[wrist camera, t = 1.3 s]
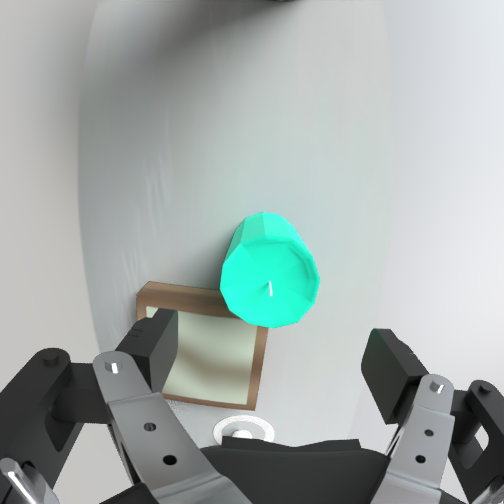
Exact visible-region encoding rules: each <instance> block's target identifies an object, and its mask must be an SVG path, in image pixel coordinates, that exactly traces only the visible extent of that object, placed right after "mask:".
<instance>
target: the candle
mask: <svg viewBox="0 0 504 504" xmlns="http://www.w3.org/2000/svg"><path fill="white" fill-rule="evenodd" d="M319 283H320V278H319V275H318V272H317V269H316V265H315V262H314V259H313V256H312V255H311V253H310V252H309V250H308V249H307V247H306V246H305V244H304V242H303V241H302V239H301V238H300V236H299V235H298V233H297V232H296V230H295V229H294V227H293V226H292V225H291V224H290V223H289V222H287V221H286V220H285V219H284V218H283V217H281V216H280V215H278V214H272V213H266V212H261V213H258V214H255V215H253V216H250V217H247V218H246V219H245V220H244V221H243V222H242V224H241V225H240V226H239V227H238V228H237V230H236V231H235V233H234V236H233V239H232V241H231V244H230V247H229V250H228V252H227V255H226V258H225V261H224V263H223V268H222V276H221V283H220V290H221V293H222V295H223V297H224V299H225V301H226V304H227V306H228V308H229V310H230V311H231V312H233V313H234V314H236V315H237V316H239V317H240V318H241V319H243V320H244V321H246V322H247V323H249V324H253V325H258V326H263V327H269V328H277V327H281V326H285V325H289V324H293V323H297V322H298V321H299V320H300V319H301V318H302V317H303V316H304V315H305V313H306V312H307V311H308V310H309V309H310V308H311V307H312V305H313V304H314V302H315V299H316V295H317V291H318V287H319Z"/></svg>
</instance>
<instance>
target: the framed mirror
mask: <svg viewBox="0 0 504 504" xmlns="http://www.w3.org/2000/svg"><path fill="white" fill-rule="evenodd" d="M159 307H161V308H168V309H174V310H177V311H178V350H177V356H176V359H175V361H174V363H173V366H172V368H171V371H170V373H169V375H168V378H167V380H166V383H165V385H164V388H163V390H162V392H161V395H162V396H163V398H165V399H170V400H176V401H181V402H187V403H193V404H200V405H207V406H214V407H222V408H231V409H241V410H251V411H255V407H256V401H257V396H258V390H259V384H260V378H261V371H262V365H263V359H264V353H265V346H266V340H267V333H268V327H263V326H258V325H253V324H249V323H247V322H246V321H244V320H243V319H241V318H240V317H239V316H237V315H236V314H234V313H233V312H231V311H230V310H229V308H228V306H227V304H226V301H225V299H224V297H223V295H222V293H221V291H220V290H211V289H203V288H195V287H188V286H180V285H172V284H165V283H158V282H151V281H149V282H148V283H147V284H146V285H145V286H144V287H143V288H142V289H141V290H140V291H139V292H138V293H137V318H138V321H139V320H141V319H143V318H144V317H149V318H152V317H153V315H154V314H155V312H156V311H157V310H158V308H159Z"/></svg>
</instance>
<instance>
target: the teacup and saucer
mask: <svg viewBox="0 0 504 504" xmlns="http://www.w3.org/2000/svg"><path fill="white" fill-rule="evenodd" d="M236 421H249V422H253V423H256V424H258V425H259V426H261V427H262V428H263V429H264V431H265V434H266V435H265V439H264V441H268V442H272V441H273V439H274V430H273V428H272V427H271V426H270V425H269V424H268V423H267V422H265V421H264V420H262V419H259V418H257V417H253V416H246V415H238V416H231V417H227V418H225V419H223V420H221V421H219V422H218V423H217V424H216V425H215V427H214V429H213V436H214V438H215V440H216V441H217V442H218V443H219V444H220V445H221V443H222V435H221V432H222V429H223V428H224V427H225V426H226V425H227V424H229V423H232V422H236ZM232 437H239V438H251V439H253V438H252V435H251V434H250V432H248V431H246V430H238V431H235V432H234V433H233V435H232Z"/></svg>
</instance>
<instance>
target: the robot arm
mask: <svg viewBox="0 0 504 504" xmlns="http://www.w3.org/2000/svg"><path fill="white" fill-rule="evenodd" d="M279 1H283V0H279ZM177 350H178V311H177V310H174V309H168V308H161V307H159V308H158V310H157V311H156V312H155V314H154V315H153V317H152V318H149V317H144V318H143V319H141V320H139V321H137V322H136V323H135V324H134V326H133V327H132V328H131V330H130V331H129V332H128V333H127V335H126V336H125V337H124V339H123V340H122V341H121V343H120V344H119V345H118V347H117V348H116V349H115V351H108V352H104V353H101V354H99V355H98V356H96V357H95V359H94V360H93V363H89V364H88V363H87V364H86V363H71V360H70V356H69V354H68V353H67V352H66V351H64V350H62V349H59V348H47V349H43V350H41V351H39V352H37V353H36V354H35V355H34V356H33V357H32V358H31V359H30V360H29V362H27V364H26V365H25V366H24V367H23V368H22V369H21V370H20V371H19V372H18V373H17V374H16V376H15V377H14V378H13V379H12V380H11V381H10V382H9V384H8V385H7V386H6V387H5V388H4V389H3V390H2V392H1V393H0V504H60V503H59V500H58V498H57V496H56V495H55V493H54V492H53V491H52V490H53V487H54V485H55V483H56V481H57V479H58V476H59V474H60V472H61V470H62V468H63V466H64V463H65V462H66V459H67V457H68V455H69V453H70V451H71V449H72V447H73V445H74V443H75V441H76V439H77V437H78V435H79V433H80V431H81V429H82V427H83V425H84V423H99V424H107V427H108V430H109V432H110V434H111V437H112V440H113V442H114V444H115V446H116V449H117V451H118V453H119V456H120V458H121V460H122V462H123V465H124V467H125V469H126V472H127V474H128V477H129V479H130V481H131V483H132V485H133V486H132V487H130V488H128V489H126V490H125V491H123V492H121V493H119V494H117V495H115V496H113V497H111V498H109V499H107V500H106V501H104V502H101V503H99V504H466V503H464V502H462V501H460V500H459V499H457V498H455V497H453V496H452V495H450V494H448V493H446V492H445V491H443V490H441V489H440V488H439V486H440V482H441V479H442V475H443V471H444V468H445V464H446V460H447V456H448V458H449V459H450V462H451V464H452V466H453V468H454V470H455V473H456V475H457V477H458V479H459V481H460V483H461V486H462V488H463V491H464V493H465V495H466V497H467V500H468V502H469V504H504V397H503V396H502V395H501V394H500V392H499V391H498V390H497V388H496V387H495V386H493V385H492V384H490V383H489V382H486V381H483V380H475V381H473V382H472V383H471V385H470V387H469V389H468V390H467V391H462V390H454V387H453V384H452V383H451V382H450V381H449V380H448V379H446V378H445V377H443V376H440V375H436V374H429V372H428V371H427V370H426V368H425V367H424V366H423V364H422V363H421V362H420V360H418V358H417V357H416V355H415V354H413V351H412V350H411V349H410V348H409V346H407V345H406V344H405V343H403V342H402V341H400V340H399V339H398V338H397V337H396V336H395V334H394V333H393V332H392V330H391V329H376V328H374V329H373V330H372V331H371V333H370V336H369V339H368V343H367V346H366V349H365V352H364V355H363V358H362V363H361V371H362V374H363V376H364V378H365V381H366V383H367V385H368V387H369V389H370V391H371V393H372V396H373V398H374V400H375V402H376V404H377V406H378V409H379V411H380V413H381V415H382V417H383V420H384V422H385V424H386V425H387V424H396V423H398V428H397V429H396V431H395V433H394V435H393V437H392V439H391V441H390V443H389V445H388V448H387V450H386V452H385V454H382V453H379V452H377V451H373V450H369V449H364V448H361V446H360V443H359V440H358V439H350V440H327V441H323V442H319V443H314V444H309V445H304V446H299V447H290V446H285V445H281V444H276V443H272V442H268V441H264V440H260V439H251V438H239V437H229V436H222V443H221V445H217V446H209V447H204V448H200V449H199V448H198V447H197V445H196V444H195V443H194V441H193V440H192V439H191V437H190V436H189V434H188V433H187V432H186V430H185V429H184V427H183V426H182V424H181V423H180V422H179V420H178V419H177V417H176V416H175V414H174V413H173V411H172V410H171V408H170V407H169V405H168V404H167V402H166V401H165V399H164V398H163V396H162V395H161V392H162V390H163V388H164V385H165V383H166V380H167V378H168V375H169V373H170V371H171V368H172V366H173V363H174V361H175V359H176V356H177ZM481 425H482V426H483V428H484V429H485V431H486V432H487V434H488V436H489V442H488V445H487V447H486V449H485V450H484V451H483V449H482V448H481V446H480V444H479V442H478V441H477V439H476V437H475V436H474V435H475V434H476V433H477V431H478V429H479V428H480V427H481Z"/></svg>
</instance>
